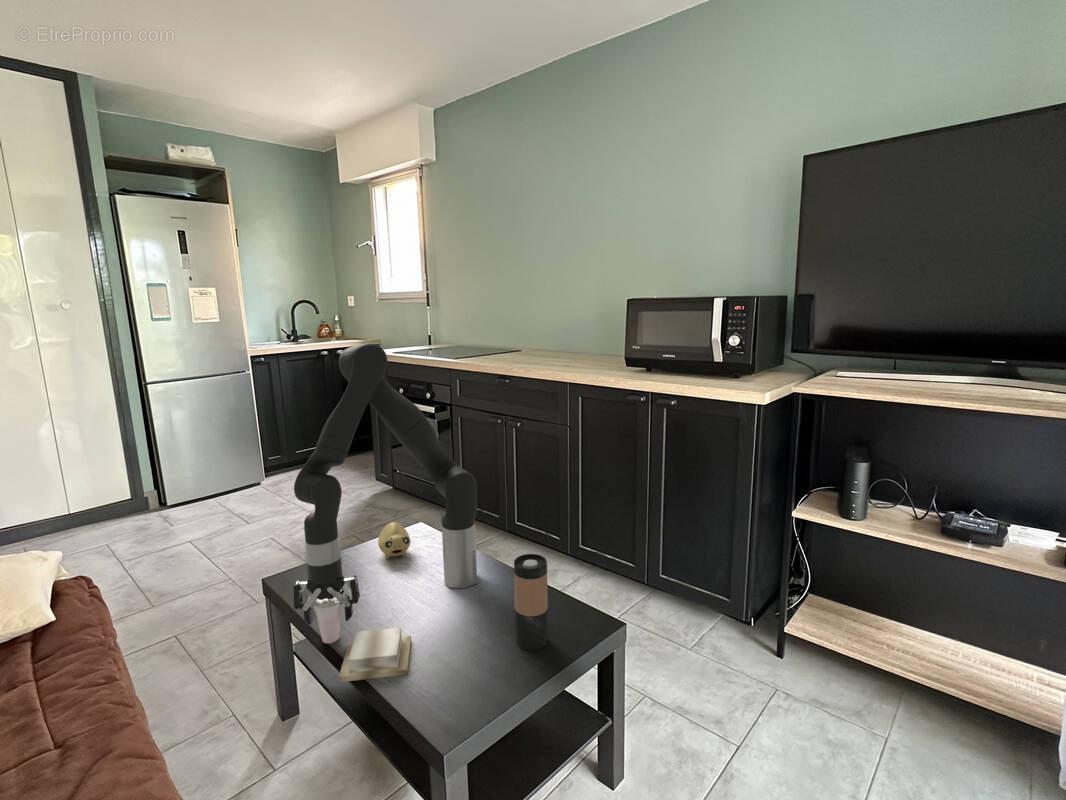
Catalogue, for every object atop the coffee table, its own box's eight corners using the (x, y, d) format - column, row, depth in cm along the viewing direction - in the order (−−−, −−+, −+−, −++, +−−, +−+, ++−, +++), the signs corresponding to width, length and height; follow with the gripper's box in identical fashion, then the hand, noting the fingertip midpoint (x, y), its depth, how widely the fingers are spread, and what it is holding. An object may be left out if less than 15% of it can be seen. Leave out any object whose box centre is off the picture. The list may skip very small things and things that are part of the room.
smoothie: (350, 634, 128) (346, 580, 126) (330, 649, 123) (325, 593, 120) (331, 628, 131) (326, 575, 129) (310, 643, 125) (305, 587, 123)
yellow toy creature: (382, 567, 161) (380, 534, 159) (377, 551, 172) (375, 520, 170) (415, 561, 165) (413, 529, 163) (408, 545, 176) (406, 515, 174)
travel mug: (552, 634, 127) (551, 556, 124) (542, 654, 120) (541, 571, 117) (522, 628, 130) (520, 551, 126) (510, 647, 123) (508, 566, 119)
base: (411, 640, 126) (410, 624, 125) (407, 674, 114) (406, 656, 113) (349, 646, 124) (348, 630, 123) (338, 682, 112) (337, 664, 111)
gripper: (358, 547, 128) (363, 609, 131) (295, 552, 126) (301, 614, 129) (352, 561, 121) (357, 627, 123) (286, 567, 119) (292, 633, 121)
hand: (329, 620), depth 126 cm, fingers open, 8 cm apart
